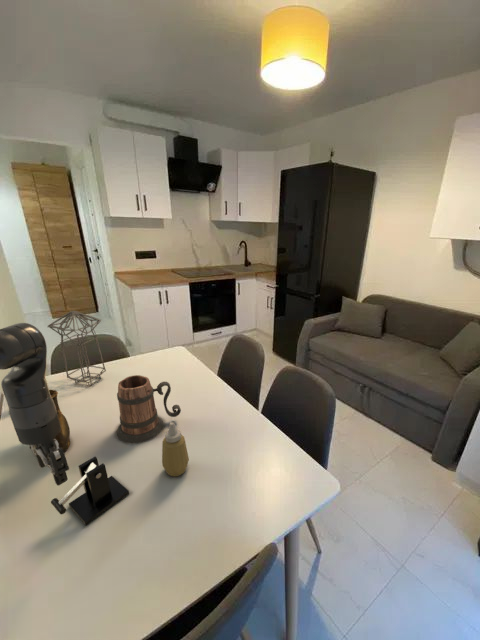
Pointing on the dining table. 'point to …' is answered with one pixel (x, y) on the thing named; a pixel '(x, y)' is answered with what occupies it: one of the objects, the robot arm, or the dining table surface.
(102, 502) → the bracket
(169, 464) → the squeeze bottle
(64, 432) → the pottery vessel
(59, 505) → the lever
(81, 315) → the geometric lantern
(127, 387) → the tankard
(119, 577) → the dining table surface
